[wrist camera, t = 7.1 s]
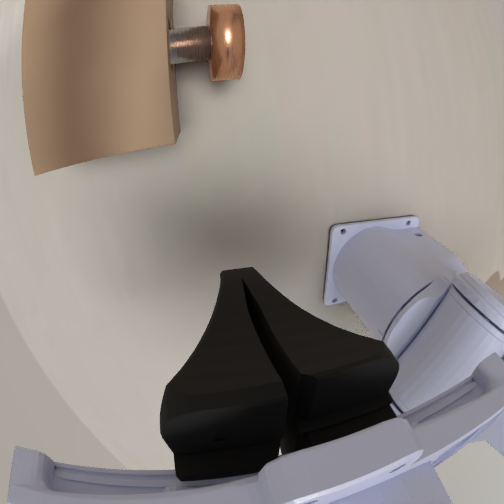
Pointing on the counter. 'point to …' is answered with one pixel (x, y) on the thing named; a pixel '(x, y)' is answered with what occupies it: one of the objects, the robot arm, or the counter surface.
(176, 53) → the copper capped shaft
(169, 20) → the bearing block
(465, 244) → the counter surface
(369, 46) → the counter surface
